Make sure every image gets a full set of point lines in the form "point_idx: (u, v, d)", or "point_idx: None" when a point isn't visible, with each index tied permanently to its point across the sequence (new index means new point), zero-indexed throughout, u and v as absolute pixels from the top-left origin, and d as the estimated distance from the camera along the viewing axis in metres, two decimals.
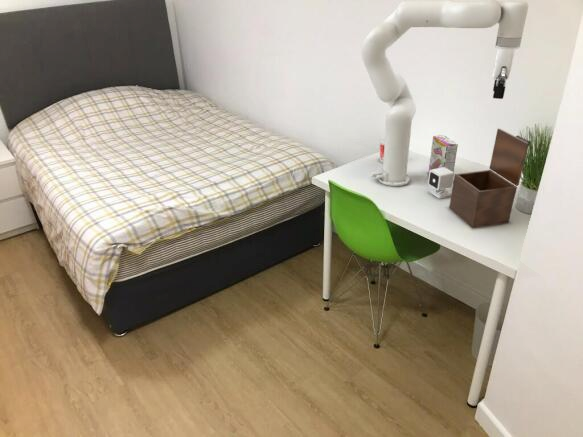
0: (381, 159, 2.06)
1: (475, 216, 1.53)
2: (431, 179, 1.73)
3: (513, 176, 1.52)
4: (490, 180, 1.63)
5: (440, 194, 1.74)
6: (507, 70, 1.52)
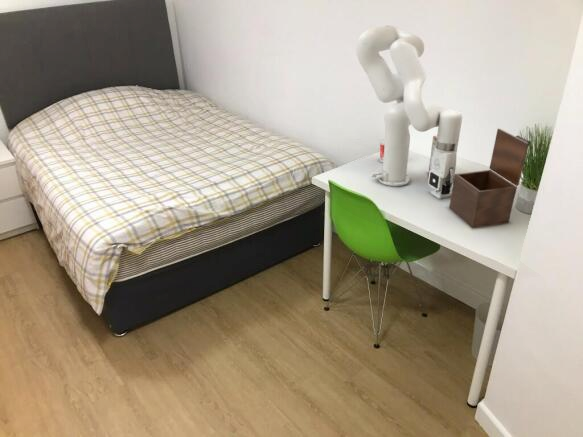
0: (381, 159, 2.06)
1: (475, 216, 1.53)
2: (432, 179, 1.73)
3: (513, 176, 1.52)
4: (490, 180, 1.63)
5: (440, 194, 1.74)
6: (453, 170, 1.67)
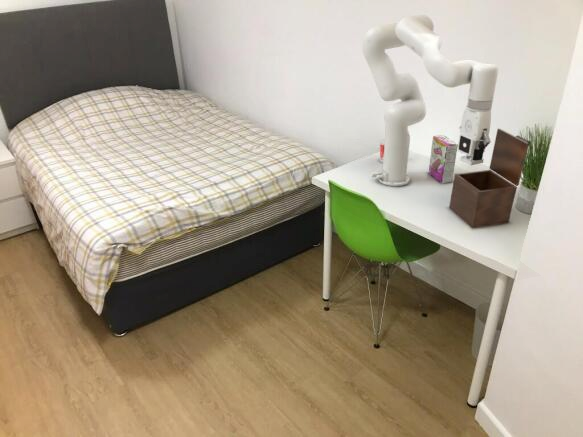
0: (381, 159, 2.06)
1: (475, 216, 1.53)
2: (462, 143, 1.56)
3: (513, 176, 1.52)
4: (490, 180, 1.63)
5: (471, 160, 1.57)
6: (487, 131, 1.49)
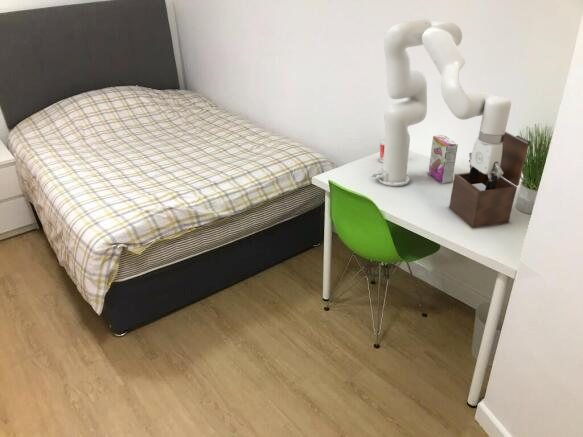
0: (381, 159, 2.06)
1: (475, 216, 1.53)
2: None
3: (513, 176, 1.52)
4: None
5: None
6: None
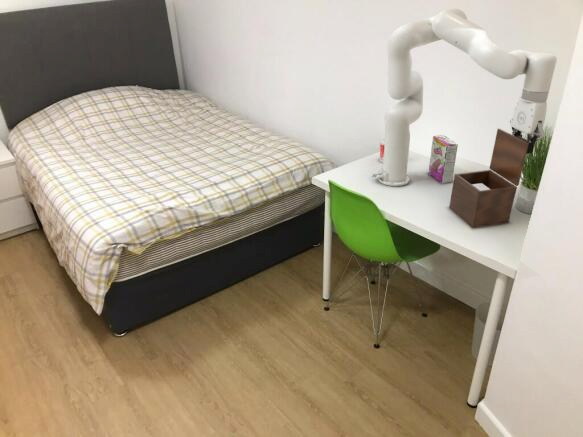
0: (381, 159, 2.06)
1: (475, 216, 1.53)
2: None
3: (513, 176, 1.52)
4: (490, 180, 1.63)
5: None
6: (542, 124, 1.45)
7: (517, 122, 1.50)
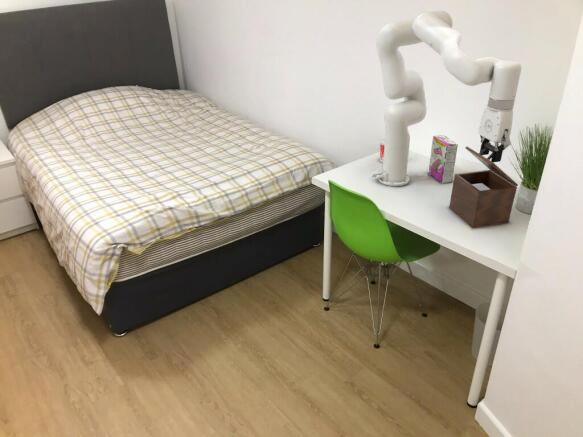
0: (381, 159, 2.06)
1: (475, 216, 1.53)
2: None
3: (508, 180, 1.52)
4: (490, 180, 1.63)
5: None
6: (509, 132, 1.43)
7: (484, 130, 1.48)
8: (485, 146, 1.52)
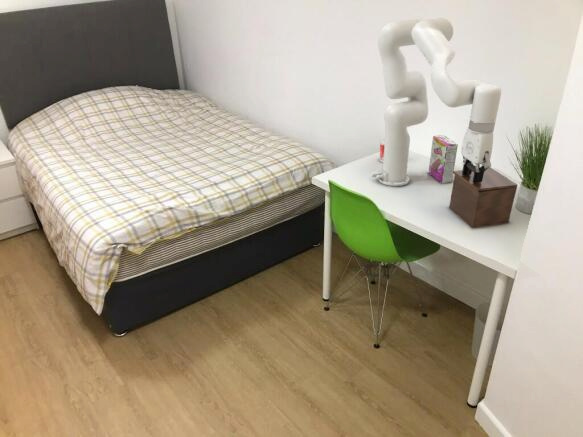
0: (381, 159, 2.06)
1: (475, 216, 1.53)
2: None
3: None
4: None
5: None
6: (489, 154, 1.45)
7: (466, 151, 1.50)
8: None
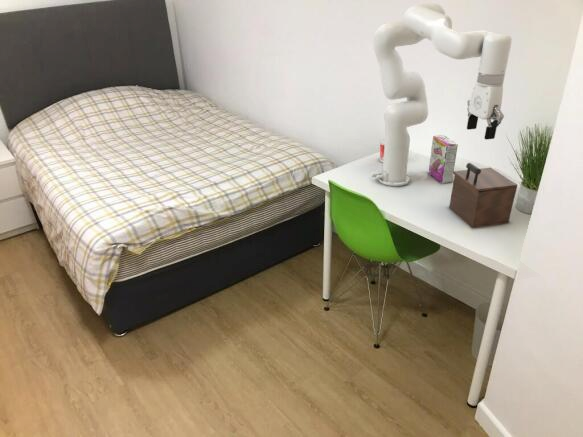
0: (381, 159, 2.06)
1: (475, 216, 1.53)
2: None
3: None
4: None
5: None
6: None
7: (474, 107, 1.43)
8: None
